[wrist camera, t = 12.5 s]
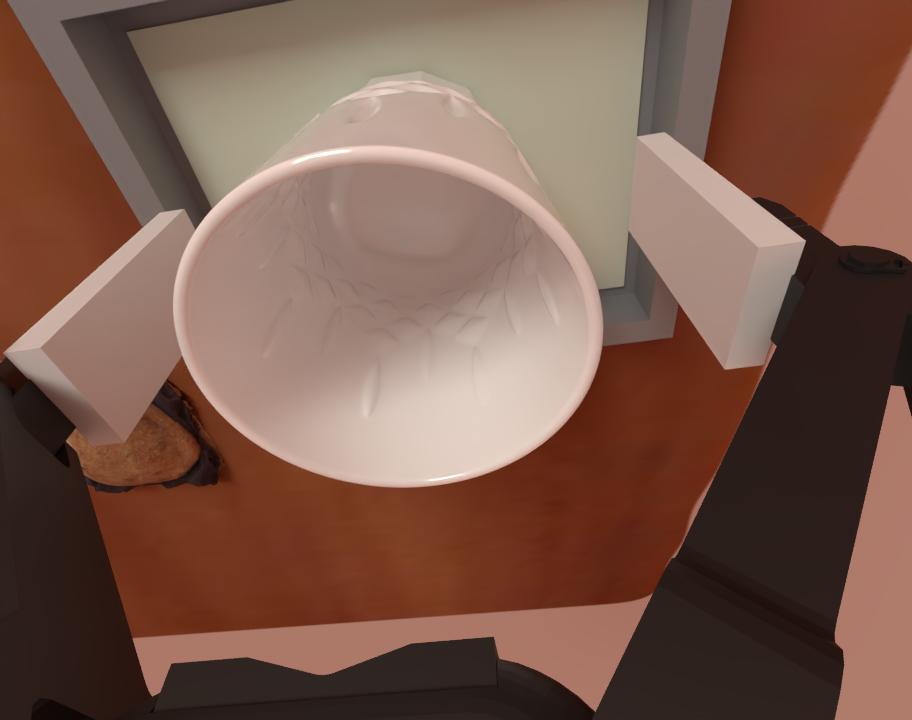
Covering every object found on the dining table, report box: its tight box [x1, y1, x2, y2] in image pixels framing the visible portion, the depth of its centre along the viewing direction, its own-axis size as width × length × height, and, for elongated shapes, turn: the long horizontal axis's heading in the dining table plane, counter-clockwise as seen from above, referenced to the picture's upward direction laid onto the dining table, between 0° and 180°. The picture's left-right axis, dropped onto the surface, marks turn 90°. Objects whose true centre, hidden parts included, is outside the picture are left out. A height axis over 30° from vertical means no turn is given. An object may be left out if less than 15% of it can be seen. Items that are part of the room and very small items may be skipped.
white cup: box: [173, 71, 603, 488], centre depth 13 cm, size 8×8×10 cm
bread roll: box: [0, 360, 226, 493], centre depth 25 cm, size 11×8×4 cm
